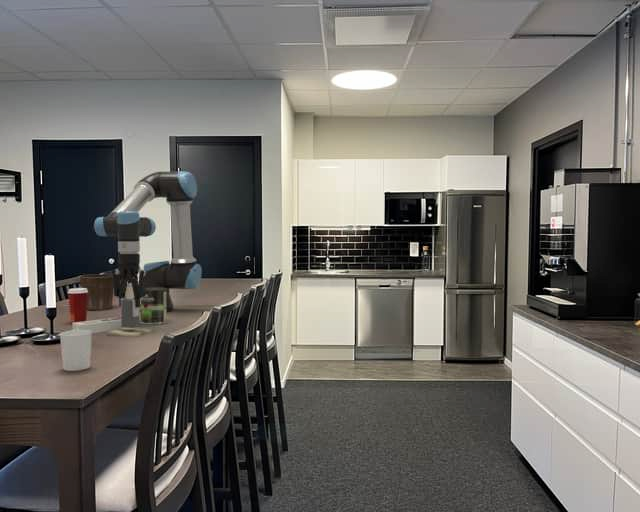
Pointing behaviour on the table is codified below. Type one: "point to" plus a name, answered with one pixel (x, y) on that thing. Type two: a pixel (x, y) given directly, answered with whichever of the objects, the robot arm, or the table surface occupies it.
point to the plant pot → (98, 290)
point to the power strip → (99, 325)
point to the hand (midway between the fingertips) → (129, 315)
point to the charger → (128, 314)
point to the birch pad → (130, 331)
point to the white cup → (76, 349)
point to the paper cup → (78, 304)
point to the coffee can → (153, 306)
